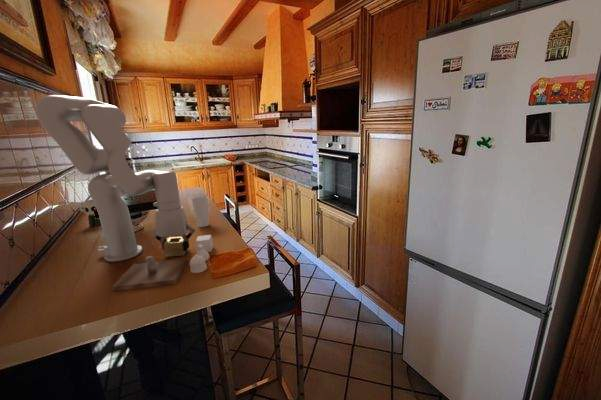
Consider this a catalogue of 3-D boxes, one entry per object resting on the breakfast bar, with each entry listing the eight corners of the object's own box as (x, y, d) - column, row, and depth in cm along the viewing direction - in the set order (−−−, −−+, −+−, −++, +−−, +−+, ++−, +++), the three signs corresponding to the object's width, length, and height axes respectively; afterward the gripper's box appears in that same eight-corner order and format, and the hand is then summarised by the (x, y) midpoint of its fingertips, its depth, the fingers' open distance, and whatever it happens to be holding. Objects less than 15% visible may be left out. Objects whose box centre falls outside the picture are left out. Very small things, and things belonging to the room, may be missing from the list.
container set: (199, 248, 111) (197, 235, 110) (213, 247, 112) (211, 234, 110) (188, 274, 92) (186, 259, 91) (205, 272, 93) (203, 257, 91)
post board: (113, 291, 85) (108, 271, 83) (134, 268, 98) (129, 251, 96) (175, 283, 86) (171, 264, 85) (187, 262, 100) (184, 245, 98)
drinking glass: (213, 224, 137) (209, 194, 133) (202, 229, 132) (197, 198, 128) (204, 222, 141) (200, 193, 137) (193, 227, 135) (188, 196, 131)
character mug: (81, 228, 143) (74, 204, 139) (87, 224, 149) (81, 200, 146) (106, 225, 146) (100, 201, 142) (110, 221, 152) (105, 197, 149)
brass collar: (165, 256, 104) (163, 244, 102) (170, 249, 110) (168, 237, 108) (183, 255, 104) (181, 242, 103) (187, 247, 110) (186, 236, 109)
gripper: (139, 209, 97) (148, 256, 102) (191, 206, 99) (198, 252, 104) (148, 203, 105) (156, 248, 109) (196, 200, 106) (202, 244, 111)
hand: (176, 250), depth 107 cm, fingers closed on brass collar, 6 cm apart
